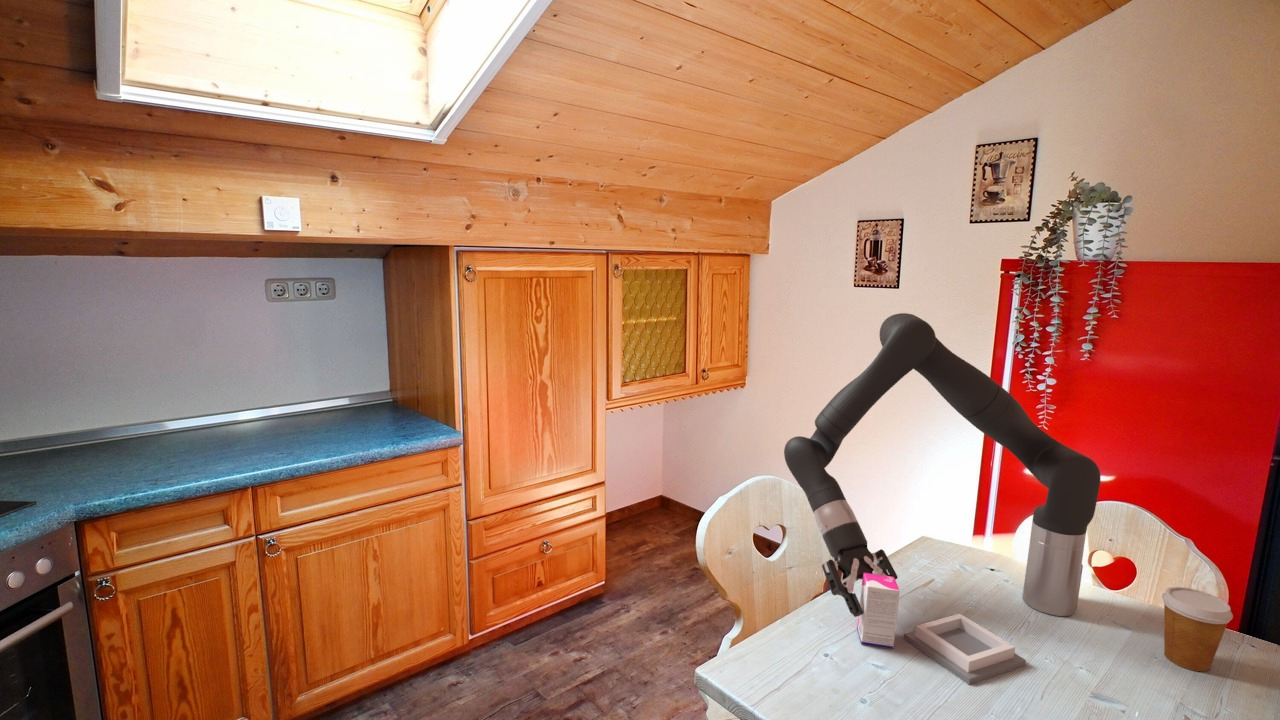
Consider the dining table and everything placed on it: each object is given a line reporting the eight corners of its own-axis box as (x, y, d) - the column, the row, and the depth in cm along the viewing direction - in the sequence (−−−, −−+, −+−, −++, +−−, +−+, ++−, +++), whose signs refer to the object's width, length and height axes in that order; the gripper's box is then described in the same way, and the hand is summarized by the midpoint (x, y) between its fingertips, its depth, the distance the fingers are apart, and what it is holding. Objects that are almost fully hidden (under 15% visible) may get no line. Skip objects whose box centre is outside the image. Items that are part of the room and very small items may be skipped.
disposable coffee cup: (1205, 651, 117) (1216, 591, 115) (1233, 683, 108) (1246, 618, 106) (1143, 640, 120) (1153, 581, 118) (1166, 670, 111) (1177, 607, 109)
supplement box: (894, 649, 115) (900, 590, 113) (860, 645, 116) (865, 586, 114) (889, 631, 121) (894, 575, 119) (856, 627, 122) (861, 571, 120)
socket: (957, 623, 124) (958, 608, 124) (1025, 665, 111) (1027, 649, 111) (903, 638, 119) (905, 623, 118) (968, 684, 106) (970, 668, 105)
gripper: (820, 525, 120) (858, 612, 112) (878, 515, 126) (918, 597, 118) (801, 540, 126) (835, 624, 118) (857, 530, 132) (894, 609, 123)
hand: (877, 611), depth 118 cm, fingers open, 8 cm apart
